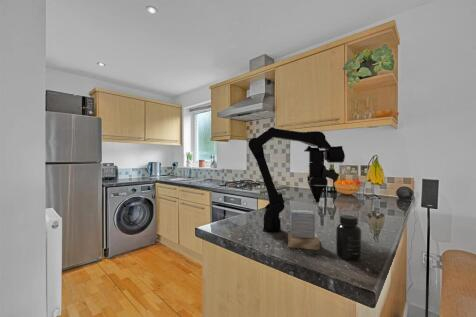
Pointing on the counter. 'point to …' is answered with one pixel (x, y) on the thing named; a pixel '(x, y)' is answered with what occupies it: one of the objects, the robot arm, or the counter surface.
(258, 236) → the counter surface
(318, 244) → the oak block
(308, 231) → the medicine box
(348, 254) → the supplement bottle
